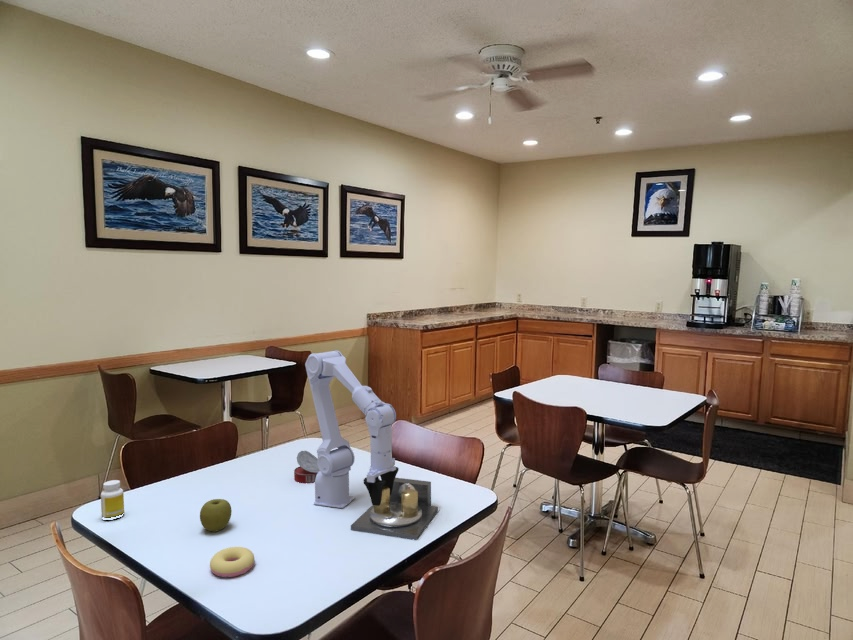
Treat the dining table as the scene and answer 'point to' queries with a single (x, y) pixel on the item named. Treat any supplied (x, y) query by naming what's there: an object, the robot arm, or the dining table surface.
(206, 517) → the apple
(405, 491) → the cylinder
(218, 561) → the donut
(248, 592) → the dining table surface
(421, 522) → the scale
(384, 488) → the cylinder
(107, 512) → the supplement bottle
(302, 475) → the canned food
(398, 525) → the scale pan
